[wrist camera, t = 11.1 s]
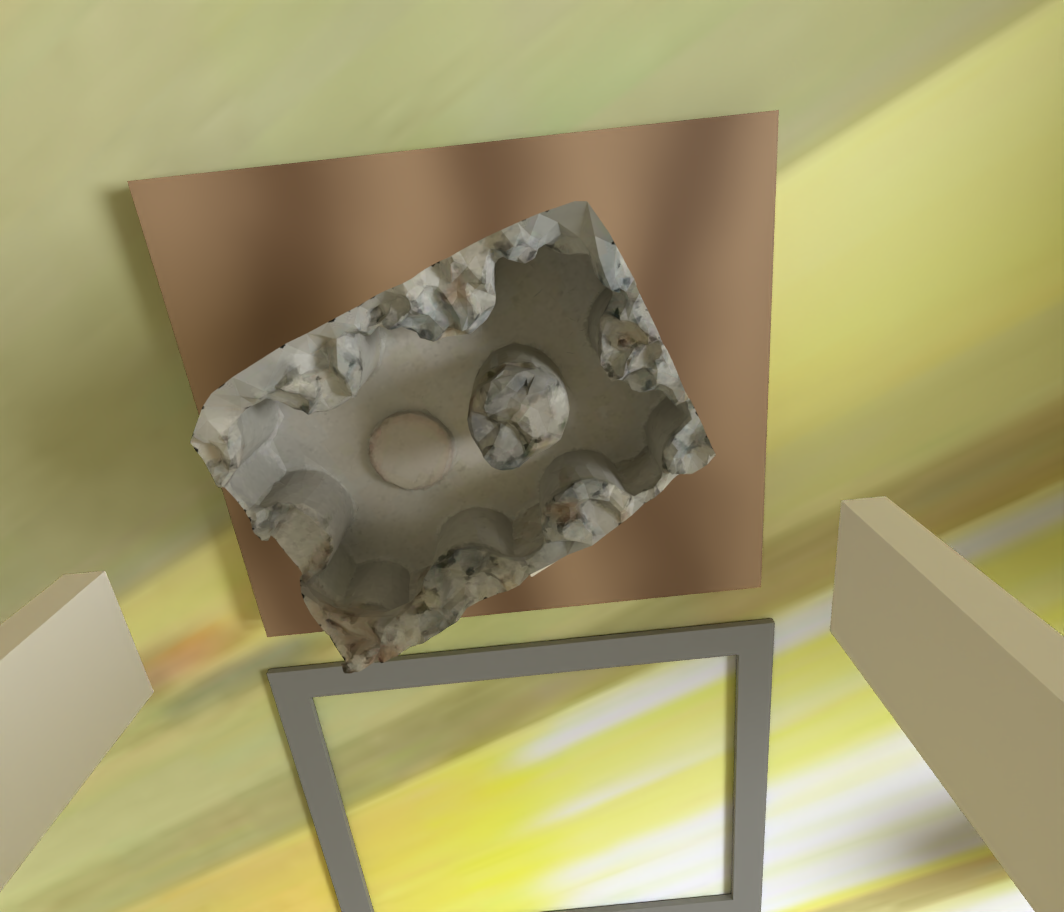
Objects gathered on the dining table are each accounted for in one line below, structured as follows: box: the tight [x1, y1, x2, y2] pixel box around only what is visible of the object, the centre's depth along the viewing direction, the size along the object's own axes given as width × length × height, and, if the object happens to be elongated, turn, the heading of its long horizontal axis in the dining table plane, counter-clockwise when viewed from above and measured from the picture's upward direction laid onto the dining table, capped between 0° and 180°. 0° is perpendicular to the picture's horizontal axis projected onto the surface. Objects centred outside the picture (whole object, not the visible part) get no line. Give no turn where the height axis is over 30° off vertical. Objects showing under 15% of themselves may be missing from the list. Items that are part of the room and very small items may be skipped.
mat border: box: [267, 619, 775, 912], centre depth 31 cm, size 22×19×1 cm
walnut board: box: [127, 110, 779, 637], centre depth 23 cm, size 20×17×1 cm
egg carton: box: [190, 201, 716, 673], centre depth 15 cm, size 11×8×4 cm
